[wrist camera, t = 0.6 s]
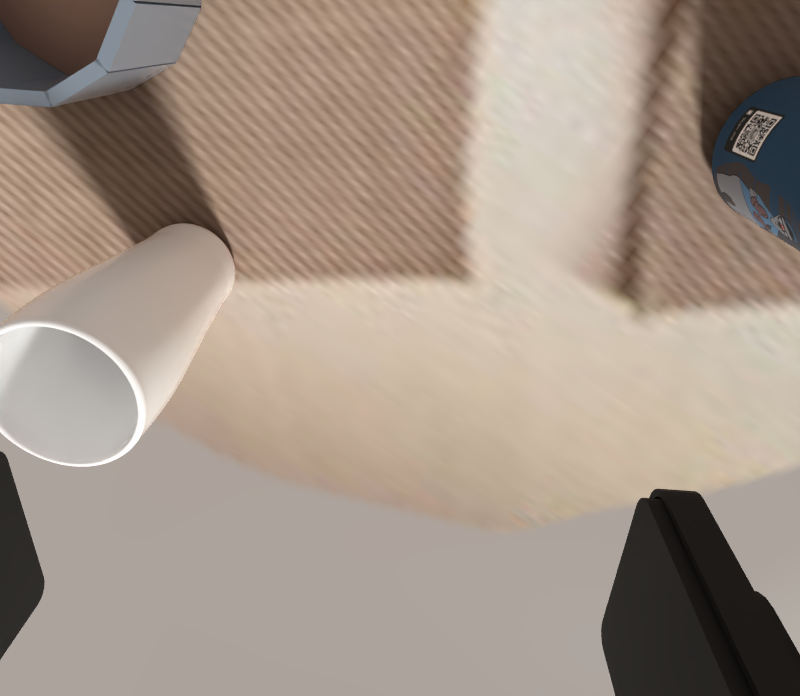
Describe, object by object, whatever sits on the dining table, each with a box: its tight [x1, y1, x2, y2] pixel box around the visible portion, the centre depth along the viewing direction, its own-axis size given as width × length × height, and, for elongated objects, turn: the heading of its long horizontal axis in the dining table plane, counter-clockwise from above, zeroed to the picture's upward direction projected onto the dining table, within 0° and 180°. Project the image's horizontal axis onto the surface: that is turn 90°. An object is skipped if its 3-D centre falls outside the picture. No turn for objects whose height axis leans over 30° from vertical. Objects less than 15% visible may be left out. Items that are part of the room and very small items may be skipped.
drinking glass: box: [0, 223, 235, 467], centre depth 30 cm, size 7×7×15 cm
